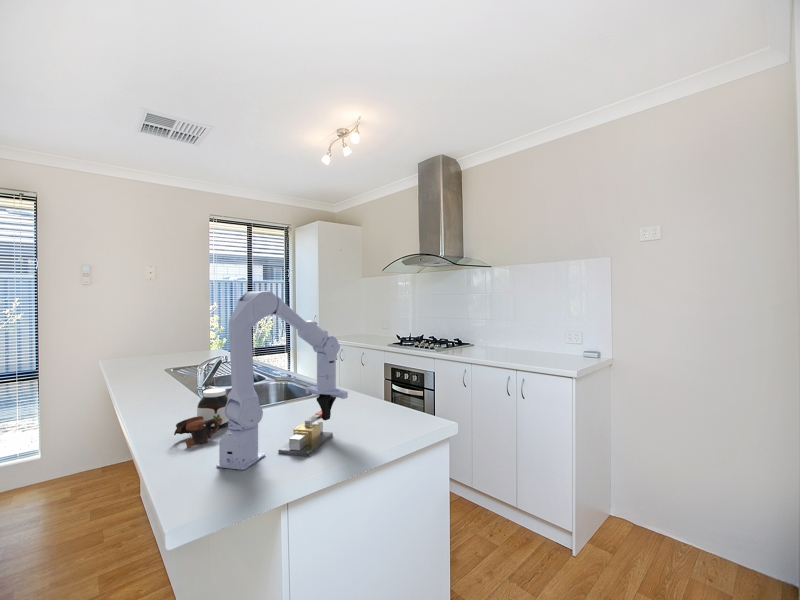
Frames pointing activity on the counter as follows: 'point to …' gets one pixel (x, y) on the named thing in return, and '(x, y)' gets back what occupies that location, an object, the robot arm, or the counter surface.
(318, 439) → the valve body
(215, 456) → the counter surface
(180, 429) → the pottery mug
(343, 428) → the counter surface
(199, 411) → the spread jar
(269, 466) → the counter surface
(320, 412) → the valve lever
